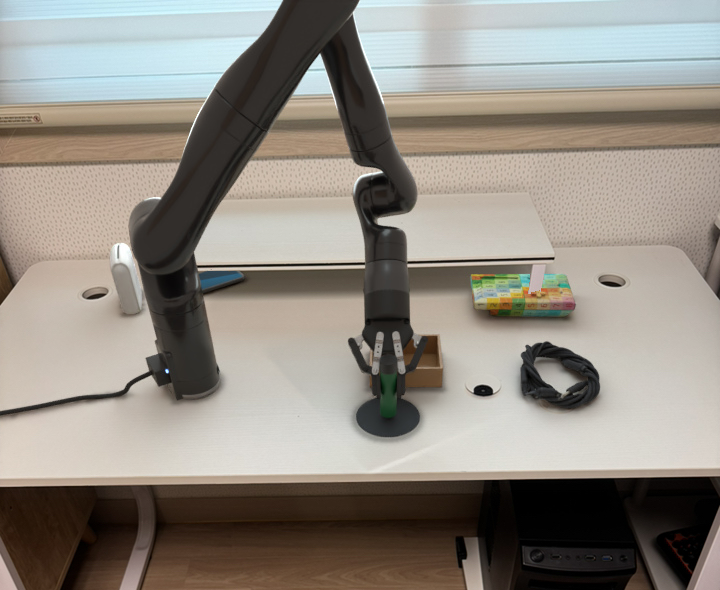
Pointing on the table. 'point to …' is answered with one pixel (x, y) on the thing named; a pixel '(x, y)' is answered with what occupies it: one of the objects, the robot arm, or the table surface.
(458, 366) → the table surface
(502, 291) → the puzzle game
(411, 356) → the box
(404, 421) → the coaster
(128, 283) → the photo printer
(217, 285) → the smartphone
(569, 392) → the cable
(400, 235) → the robot arm
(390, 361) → the glue stick
